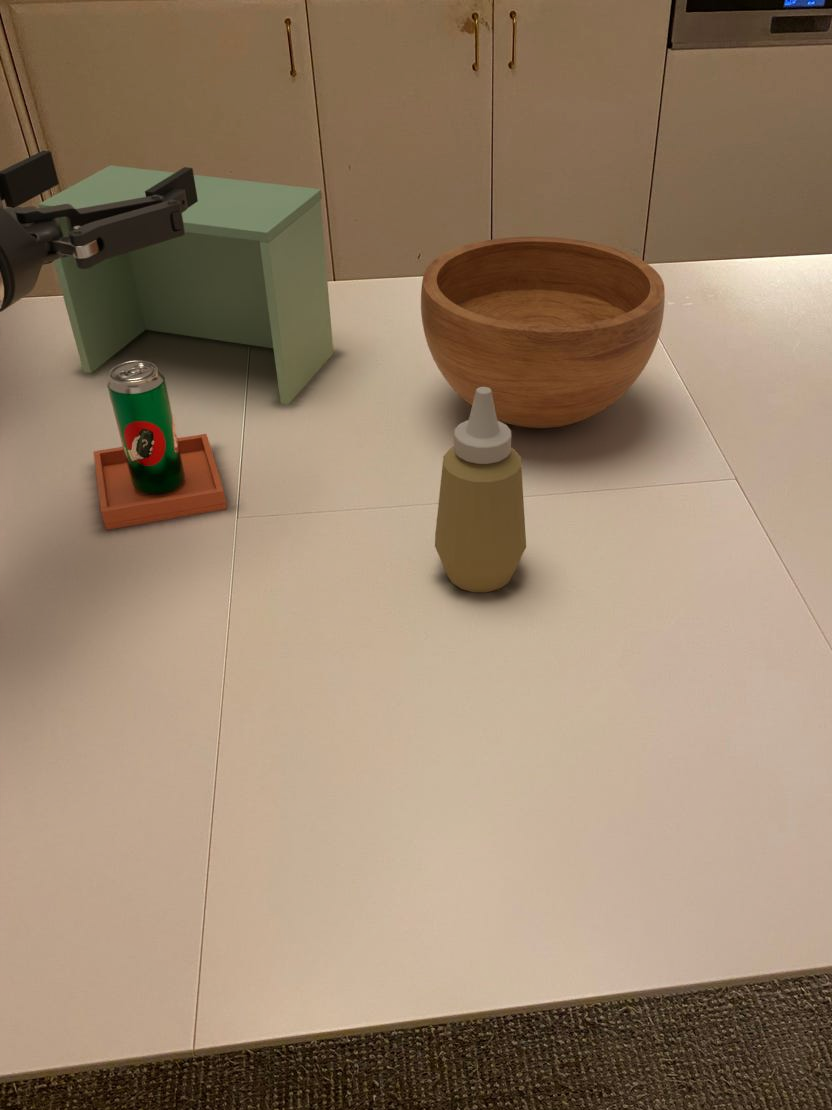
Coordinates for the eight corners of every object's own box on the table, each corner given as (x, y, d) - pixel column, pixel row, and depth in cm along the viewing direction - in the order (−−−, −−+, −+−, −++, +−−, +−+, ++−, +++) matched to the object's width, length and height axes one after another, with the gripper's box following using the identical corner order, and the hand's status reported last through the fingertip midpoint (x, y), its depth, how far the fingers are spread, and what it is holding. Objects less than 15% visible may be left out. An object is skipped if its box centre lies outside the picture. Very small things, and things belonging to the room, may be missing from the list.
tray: (98, 469, 100) (93, 451, 99) (209, 451, 103) (206, 433, 102) (106, 530, 92) (101, 511, 91) (226, 508, 95) (223, 490, 94)
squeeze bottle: (541, 567, 89) (555, 384, 77) (493, 614, 84) (499, 427, 72) (467, 537, 92) (469, 357, 80) (416, 580, 87) (410, 396, 75)
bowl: (566, 501, 97) (579, 358, 87) (376, 421, 108) (368, 286, 98) (688, 405, 112) (710, 273, 102) (510, 343, 123) (515, 219, 113)
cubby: (288, 405, 111) (267, 232, 98) (83, 372, 115) (37, 204, 103) (335, 351, 121) (321, 188, 108) (144, 323, 126) (110, 165, 113)
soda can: (196, 484, 97) (172, 371, 89) (150, 504, 94) (122, 389, 86) (168, 464, 100) (144, 353, 92) (123, 482, 97) (93, 369, 89)
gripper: (-164, 294, 75) (7, 204, 90) (129, 340, 70) (258, 236, 86) (-208, 191, 70) (-19, 114, 85) (104, 233, 65) (246, 143, 81)
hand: (120, 175), depth 85 cm, fingers open, 13 cm apart
